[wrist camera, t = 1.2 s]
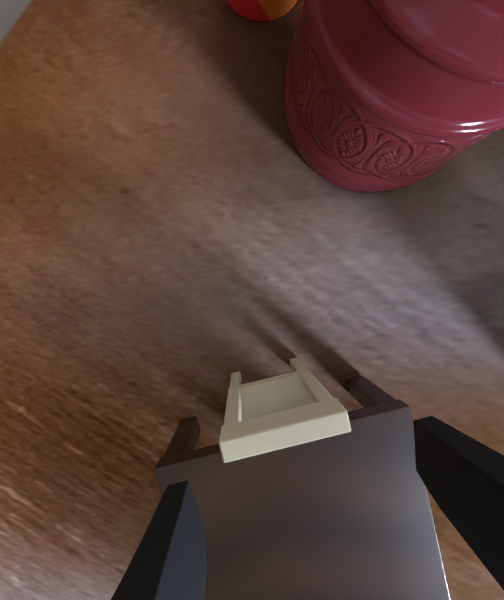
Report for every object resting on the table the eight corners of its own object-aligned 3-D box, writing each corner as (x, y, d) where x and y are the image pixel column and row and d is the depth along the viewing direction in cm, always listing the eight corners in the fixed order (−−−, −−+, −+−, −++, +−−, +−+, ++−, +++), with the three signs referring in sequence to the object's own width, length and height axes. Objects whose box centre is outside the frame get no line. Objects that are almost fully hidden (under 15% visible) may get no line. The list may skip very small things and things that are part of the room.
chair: (229, 370, 21) (217, 442, 11) (298, 354, 21) (347, 410, 11) (246, 440, 21) (249, 571, 11) (314, 423, 22) (376, 538, 12)
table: (396, 525, 22) (454, 612, 16) (217, 571, 22) (207, 678, 16) (363, 373, 22) (409, 405, 16) (178, 418, 21) (153, 468, 15)
